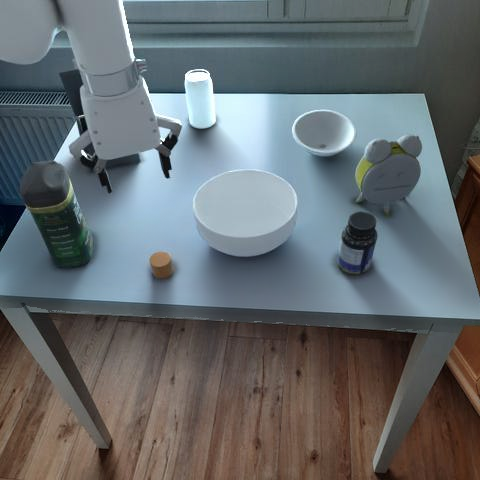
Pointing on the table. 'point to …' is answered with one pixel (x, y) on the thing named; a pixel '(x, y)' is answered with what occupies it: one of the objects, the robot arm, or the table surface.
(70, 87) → the lid
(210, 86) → the can
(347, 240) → the pill bottle
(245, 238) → the bowl
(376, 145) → the alarm clock
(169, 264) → the cylinder
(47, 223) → the coffee jar
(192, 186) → the table surface
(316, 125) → the dish
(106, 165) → the open grey storage bin
